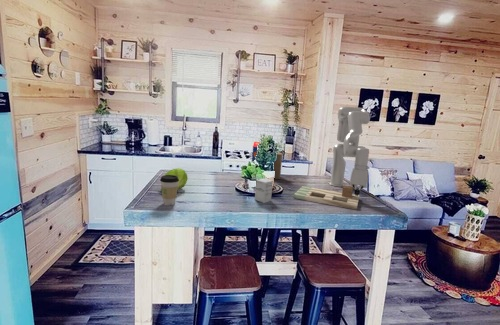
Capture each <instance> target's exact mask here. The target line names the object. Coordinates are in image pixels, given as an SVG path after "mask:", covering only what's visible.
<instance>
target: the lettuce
mask: <svg viewBox="0 0 500 325" xmlns="http://www.w3.org/2000/svg"><path fill="white" fill-rule="evenodd" d="M164 175H175V176H177V177H178V179H179V181H178V187H177V190H180V189H182V188H184V187H185V186H186V184H187V182H188V179H189V178H188V174H187V172H186V171H185V170H184V169H183V168H172V169H171V170H169V171H167V172H166V173H164Z"/></svg>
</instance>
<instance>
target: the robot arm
mask: <svg viewBox="0 0 500 325" xmlns="http://www.w3.org/2000/svg"><path fill="white" fill-rule="evenodd" d="M370 116H371V115H370V114H369V112H368V111H367V110H366V109H365V108H363V107H356V106H355V107H354V106H341V107H339V109H338V110H337V119H338V127H337V134H336V140H337V142H340V143H337V144H334V145H333V149H332V153H333V154H332V155H333V156H332V167H331V174H330V181H328V182H327V184H328V185H330V186H332V187H338V188H340V187H341V188H343V186H344V185H346V184H345V183H344V180H345V172H346V165H347V164H346V160H345V159H344V158H355V159H354V167H353V168H352V169H351V174H350V180H349V184H348V186H352V187H353V190H354V192H353V194H354V195H355V196H358V195H359V196H360V191H362V189H366V188H368V180H369V179H368V178H369V169H370V166H368V163H369V155H370V149H369V148H367V147H365V146H362V145H361V146H359V142H360V135H362V133H363V127H362V126H363V125H367V124H369V123H370V120H371V117H370Z"/></svg>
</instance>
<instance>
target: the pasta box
mask: <svg viewBox="0 0 500 325" xmlns="http://www.w3.org/2000/svg"><path fill="white" fill-rule="evenodd" d="M259 143H260V142H259V141H254V142H253V146H252V153H251V155H252V157H251V162H252V161H254V160H255V156H256V153H257V145H258V144H259Z"/></svg>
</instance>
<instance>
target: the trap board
mask: <svg viewBox="0 0 500 325" xmlns="http://www.w3.org/2000/svg"><path fill="white" fill-rule="evenodd" d="M293 199H297V200H302V201H306V202H307V201H308V202H314V203H318V204H319V203H320V204H323V205H330V206H333V207H334V206H335V207H341V208H344V209H345V208H346V209H351V210H358V206H359V205H358V204H359V200H360V194H359V195H358V196H355V194H354V193H352V198H349V197H343V196H342V191H337V190H335V191H334V190H330V189H324V188H317V187H311V186H305V185H302V186H301V187H300V188H299V189H298V190H297V191H296V192H295V193H294V194H293Z"/></svg>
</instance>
